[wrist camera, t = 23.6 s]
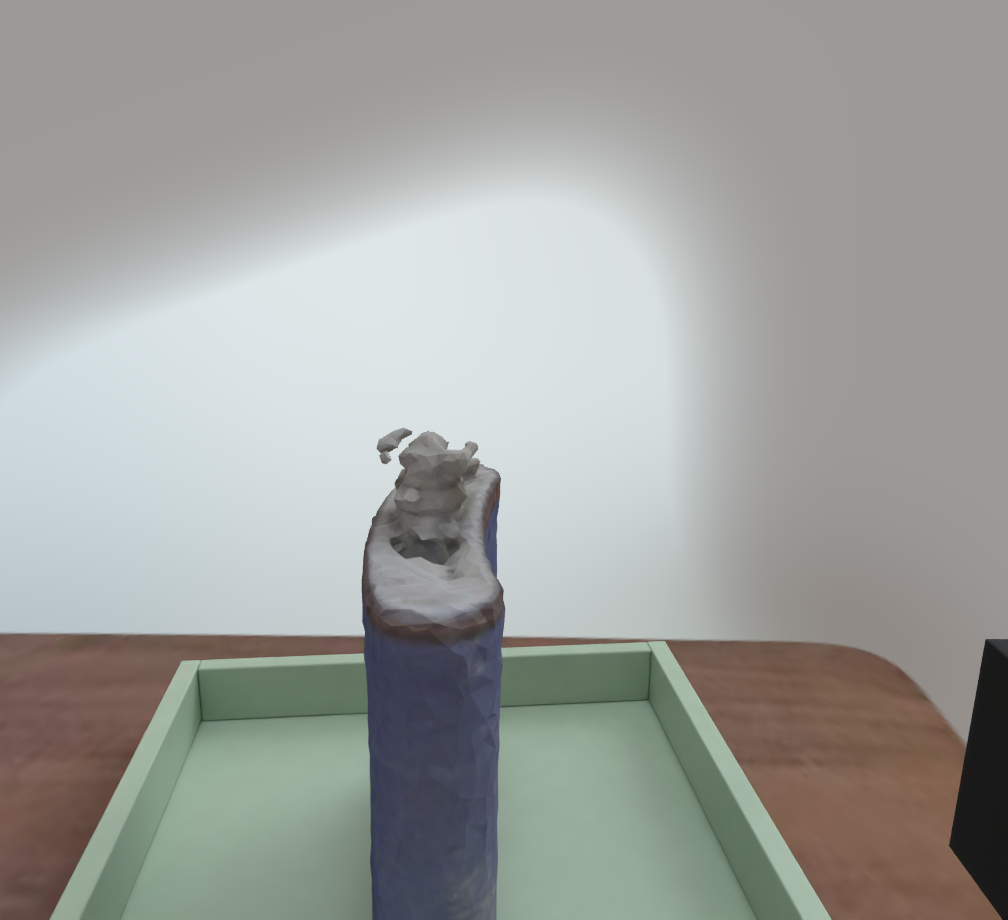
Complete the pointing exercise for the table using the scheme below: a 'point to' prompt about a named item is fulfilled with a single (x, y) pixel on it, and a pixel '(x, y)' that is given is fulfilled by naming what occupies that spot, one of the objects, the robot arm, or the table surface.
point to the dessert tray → (521, 799)
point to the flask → (434, 684)
